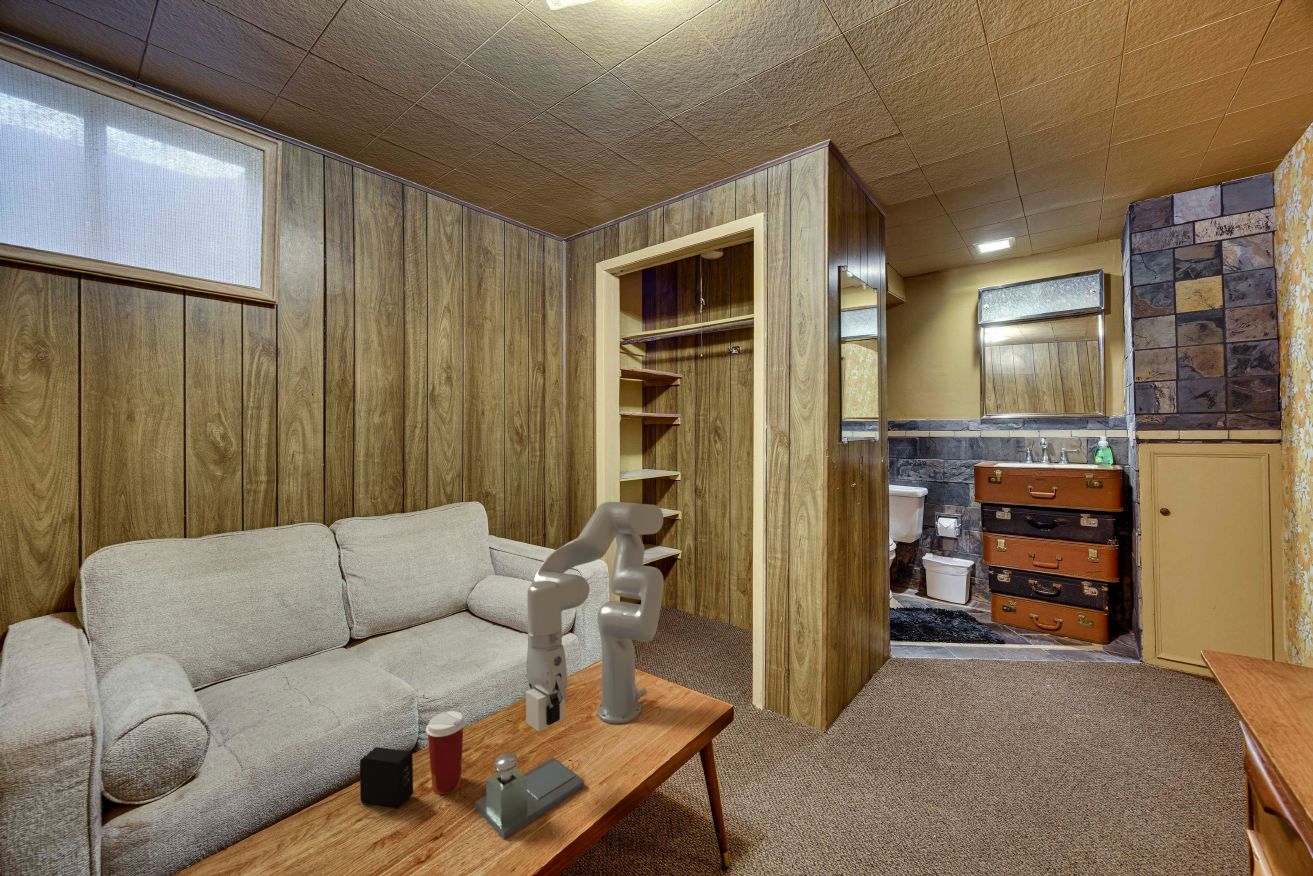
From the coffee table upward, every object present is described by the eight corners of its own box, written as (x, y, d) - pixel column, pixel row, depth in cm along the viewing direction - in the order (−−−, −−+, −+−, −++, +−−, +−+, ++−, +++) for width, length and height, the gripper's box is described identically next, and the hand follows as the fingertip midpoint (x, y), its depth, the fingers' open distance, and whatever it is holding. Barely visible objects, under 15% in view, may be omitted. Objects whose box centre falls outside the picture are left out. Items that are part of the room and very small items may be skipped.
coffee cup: (473, 776, 117) (472, 713, 117) (448, 801, 109) (447, 733, 109) (444, 769, 120) (443, 707, 120) (418, 792, 112) (417, 726, 112)
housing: (552, 710, 118) (551, 680, 118) (564, 718, 114) (564, 687, 114) (526, 722, 113) (525, 691, 113) (538, 731, 109) (538, 699, 109)
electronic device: (400, 810, 107) (399, 763, 107) (360, 803, 109) (359, 758, 109) (413, 796, 111) (412, 751, 111) (374, 790, 113) (373, 746, 113)
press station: (553, 763, 122) (553, 730, 122) (584, 786, 113) (583, 751, 113) (475, 808, 107) (474, 771, 107) (504, 839, 99) (503, 799, 99)
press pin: (510, 777, 108) (510, 750, 108) (521, 787, 105) (521, 759, 105) (491, 788, 105) (491, 760, 105) (502, 798, 102) (501, 769, 102)
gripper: (581, 643, 110) (582, 725, 110) (538, 623, 122) (539, 698, 122) (552, 654, 105) (553, 740, 105) (510, 632, 117) (511, 710, 117)
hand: (545, 716), depth 114 cm, fingers closed on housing, 5 cm apart
